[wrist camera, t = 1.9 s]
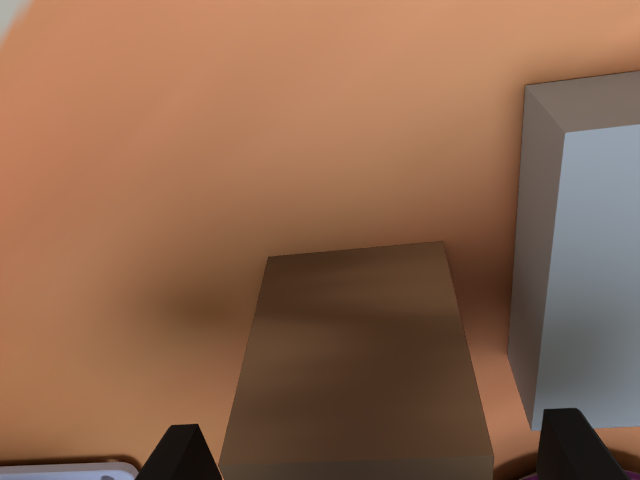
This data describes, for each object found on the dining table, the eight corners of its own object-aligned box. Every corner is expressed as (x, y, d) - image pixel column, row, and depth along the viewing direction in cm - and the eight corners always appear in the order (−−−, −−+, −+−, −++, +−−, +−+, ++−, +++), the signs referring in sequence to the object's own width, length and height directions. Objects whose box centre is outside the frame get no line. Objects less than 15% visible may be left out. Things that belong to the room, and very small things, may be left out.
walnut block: (298, 373, 16) (271, 587, 11) (268, 255, 14) (218, 465, 9) (446, 364, 16) (486, 587, 11) (442, 240, 13) (493, 455, 8)
